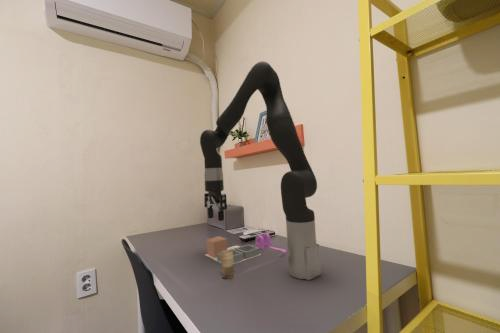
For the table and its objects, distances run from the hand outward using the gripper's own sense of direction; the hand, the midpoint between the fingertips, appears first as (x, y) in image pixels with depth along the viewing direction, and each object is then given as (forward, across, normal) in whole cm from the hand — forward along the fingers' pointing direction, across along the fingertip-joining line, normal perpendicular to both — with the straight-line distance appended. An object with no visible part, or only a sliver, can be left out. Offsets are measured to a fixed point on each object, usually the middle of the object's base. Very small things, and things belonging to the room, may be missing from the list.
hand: (215, 219), depth 95 cm
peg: (+15, -18, +7) cm, 25 cm away
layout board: (+15, -5, -4) cm, 17 cm away
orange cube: (+14, 0, 0) cm, 14 cm away
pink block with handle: (+16, -12, -19) cm, 28 cm away
